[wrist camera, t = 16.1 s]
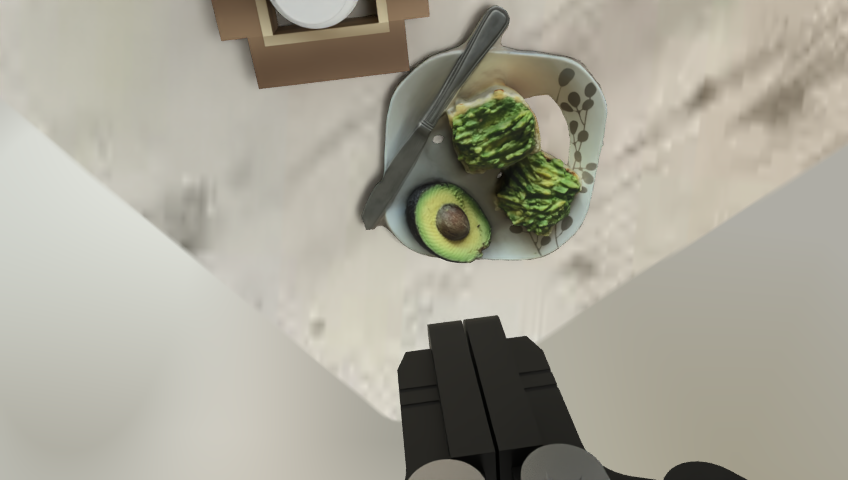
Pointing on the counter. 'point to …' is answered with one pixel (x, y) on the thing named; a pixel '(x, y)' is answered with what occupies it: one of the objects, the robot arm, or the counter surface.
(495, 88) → the avocado toast plate
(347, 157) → the counter surface
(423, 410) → the robot arm
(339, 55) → the open cardboard box
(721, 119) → the counter surface
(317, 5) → the supplement bottle
